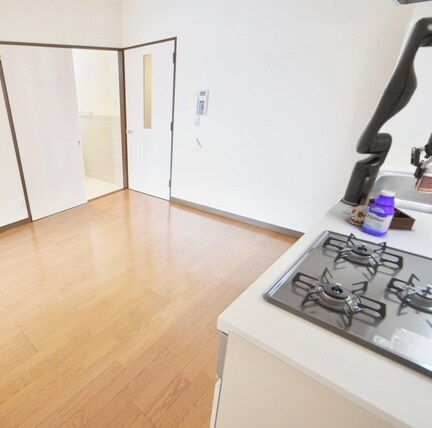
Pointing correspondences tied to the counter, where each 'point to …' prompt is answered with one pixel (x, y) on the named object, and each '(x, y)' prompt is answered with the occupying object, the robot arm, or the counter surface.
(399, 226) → the organiser
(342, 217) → the counter surface
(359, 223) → the decorative ornament
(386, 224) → the bottle
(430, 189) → the pill bottle
